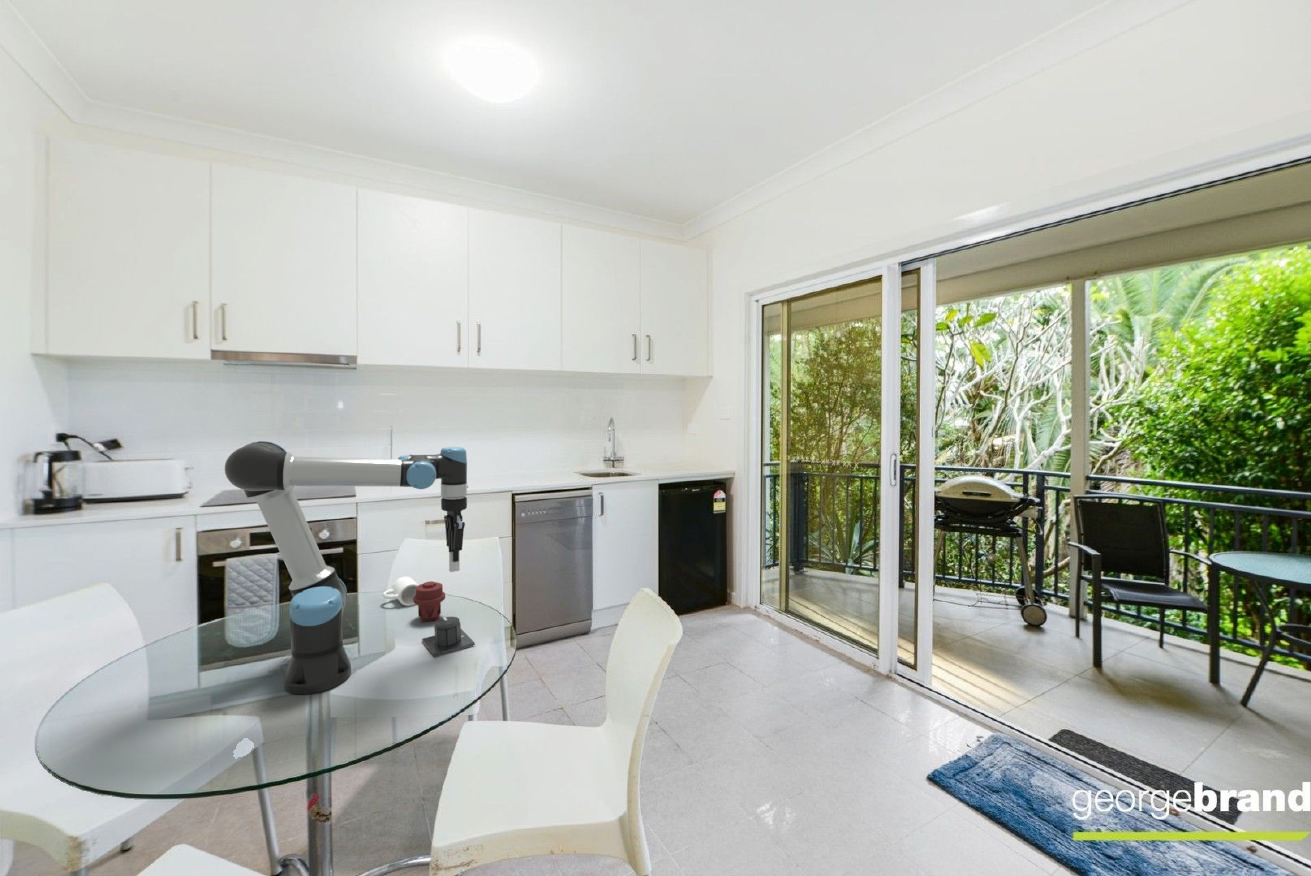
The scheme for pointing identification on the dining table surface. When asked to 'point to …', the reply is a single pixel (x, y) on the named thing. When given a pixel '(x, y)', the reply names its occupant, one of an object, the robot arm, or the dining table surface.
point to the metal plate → (441, 650)
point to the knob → (447, 631)
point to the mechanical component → (429, 600)
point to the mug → (403, 591)
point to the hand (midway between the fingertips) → (454, 570)
